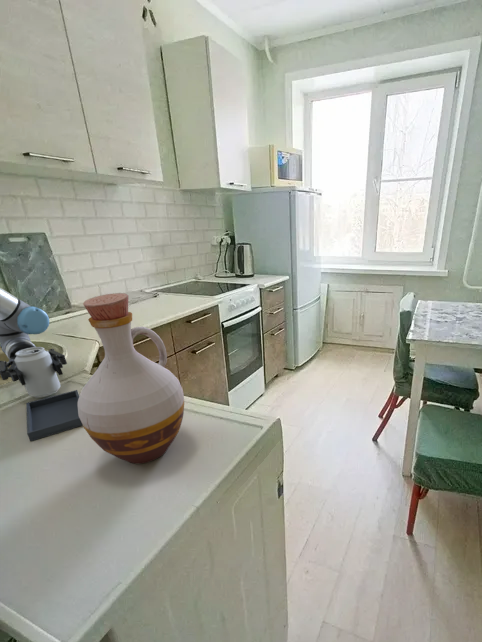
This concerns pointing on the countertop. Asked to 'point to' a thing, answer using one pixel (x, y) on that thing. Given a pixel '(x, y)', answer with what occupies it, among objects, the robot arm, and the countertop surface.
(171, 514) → the countertop surface
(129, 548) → the countertop surface
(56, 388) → the can
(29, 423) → the tray
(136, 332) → the jug
